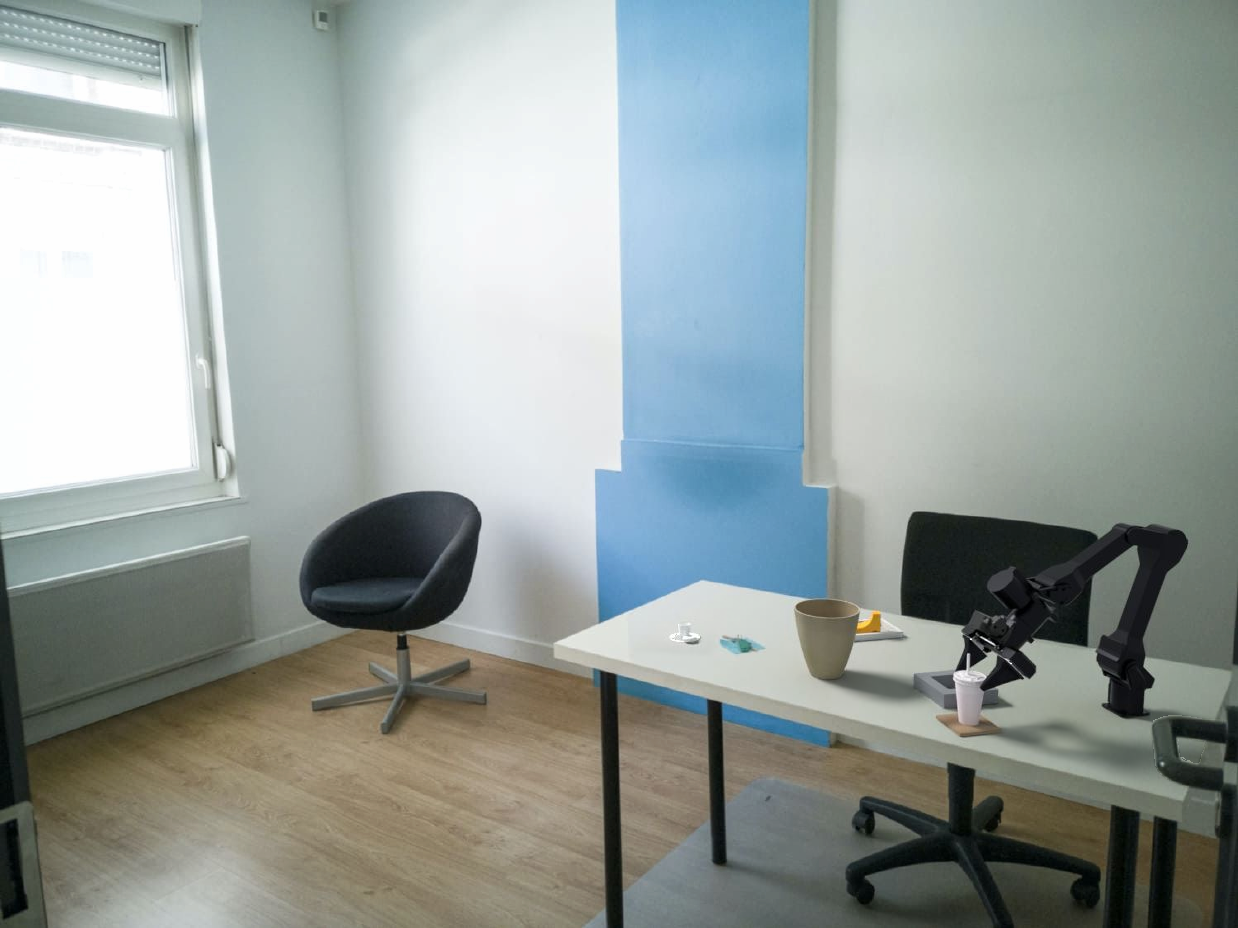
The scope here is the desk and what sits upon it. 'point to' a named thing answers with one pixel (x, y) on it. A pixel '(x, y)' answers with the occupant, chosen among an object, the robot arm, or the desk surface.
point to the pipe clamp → (870, 624)
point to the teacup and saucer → (685, 633)
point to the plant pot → (826, 634)
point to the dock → (945, 688)
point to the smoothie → (969, 694)
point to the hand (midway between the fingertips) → (968, 681)
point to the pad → (965, 730)
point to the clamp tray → (892, 632)
